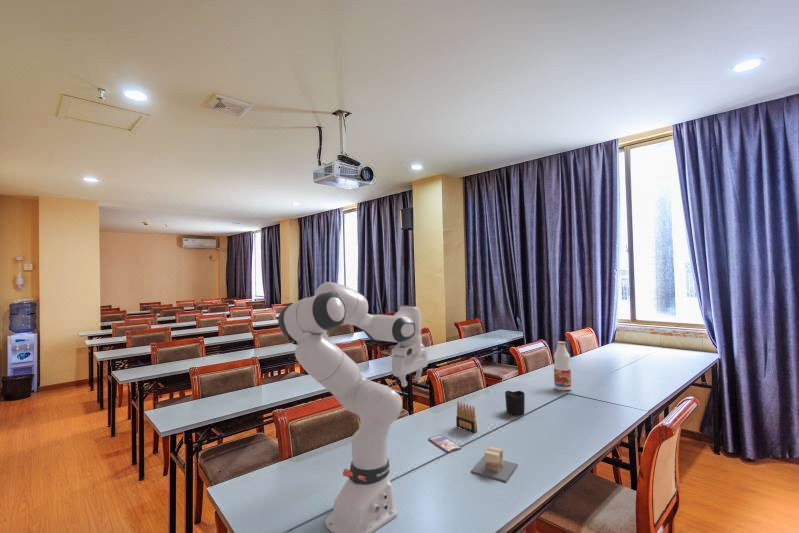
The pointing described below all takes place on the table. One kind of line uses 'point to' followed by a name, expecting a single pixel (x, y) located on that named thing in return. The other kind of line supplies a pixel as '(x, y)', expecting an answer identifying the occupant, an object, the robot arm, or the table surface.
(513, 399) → the pen holder
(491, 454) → the maple block
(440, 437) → the smartphone
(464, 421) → the ammunition clip
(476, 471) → the mat
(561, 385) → the fruit juice
